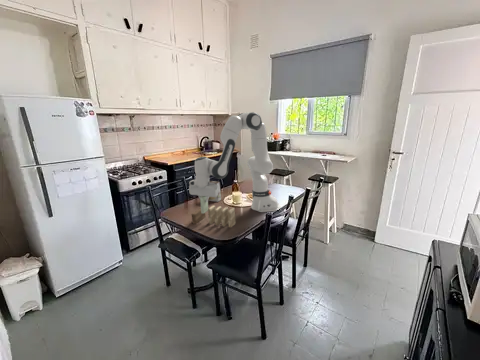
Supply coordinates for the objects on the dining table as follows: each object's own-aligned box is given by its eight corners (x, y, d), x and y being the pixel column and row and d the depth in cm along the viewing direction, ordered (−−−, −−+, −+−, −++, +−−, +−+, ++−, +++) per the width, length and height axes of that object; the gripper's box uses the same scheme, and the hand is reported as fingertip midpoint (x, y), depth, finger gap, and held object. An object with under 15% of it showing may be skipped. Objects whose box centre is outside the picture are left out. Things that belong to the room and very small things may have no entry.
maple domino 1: (216, 220, 159) (215, 205, 156) (211, 224, 153) (210, 209, 150) (213, 220, 159) (212, 205, 157) (209, 224, 154) (207, 208, 151)
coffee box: (221, 199, 199) (220, 181, 195) (218, 202, 193) (217, 183, 189) (212, 198, 202) (210, 180, 198) (208, 201, 196) (207, 182, 192)
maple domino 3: (228, 222, 155) (227, 207, 152) (224, 226, 150) (223, 210, 147) (226, 222, 156) (225, 207, 153) (222, 226, 150) (221, 210, 148)
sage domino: (208, 210, 159) (207, 195, 156) (203, 213, 153) (202, 197, 150) (206, 209, 159) (204, 194, 157) (201, 213, 154) (200, 197, 151)
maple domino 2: (222, 221, 157) (221, 206, 154) (218, 225, 152) (217, 209, 149) (219, 221, 158) (218, 206, 155) (215, 225, 152) (214, 209, 149)
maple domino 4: (235, 223, 153) (234, 208, 150) (231, 227, 148) (230, 211, 145) (232, 223, 154) (231, 207, 151) (228, 227, 149) (227, 211, 146)
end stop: (205, 216, 165) (204, 207, 163) (196, 224, 155) (195, 214, 153) (201, 216, 166) (201, 207, 165) (192, 223, 156) (191, 213, 154)
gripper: (219, 181, 150) (220, 201, 153) (192, 179, 158) (194, 198, 161) (214, 184, 144) (215, 205, 148) (186, 181, 152) (188, 201, 156)
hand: (204, 201), depth 155 cm, fingers closed on sage domino, 2 cm apart
